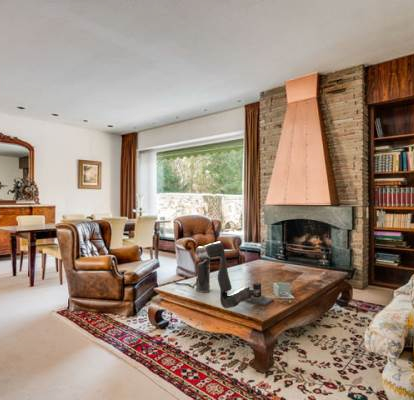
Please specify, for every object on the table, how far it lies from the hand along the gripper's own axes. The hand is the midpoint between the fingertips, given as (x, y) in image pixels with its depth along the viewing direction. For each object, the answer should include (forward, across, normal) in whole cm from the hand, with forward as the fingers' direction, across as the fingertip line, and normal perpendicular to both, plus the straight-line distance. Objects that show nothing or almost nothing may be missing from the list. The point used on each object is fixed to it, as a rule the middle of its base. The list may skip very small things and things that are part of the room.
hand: (254, 289), depth 210 cm
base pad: (+4, 0, +9) cm, 9 cm away
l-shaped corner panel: (+26, -10, +9) cm, 30 cm away
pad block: (+3, 0, +7) cm, 8 cm away
